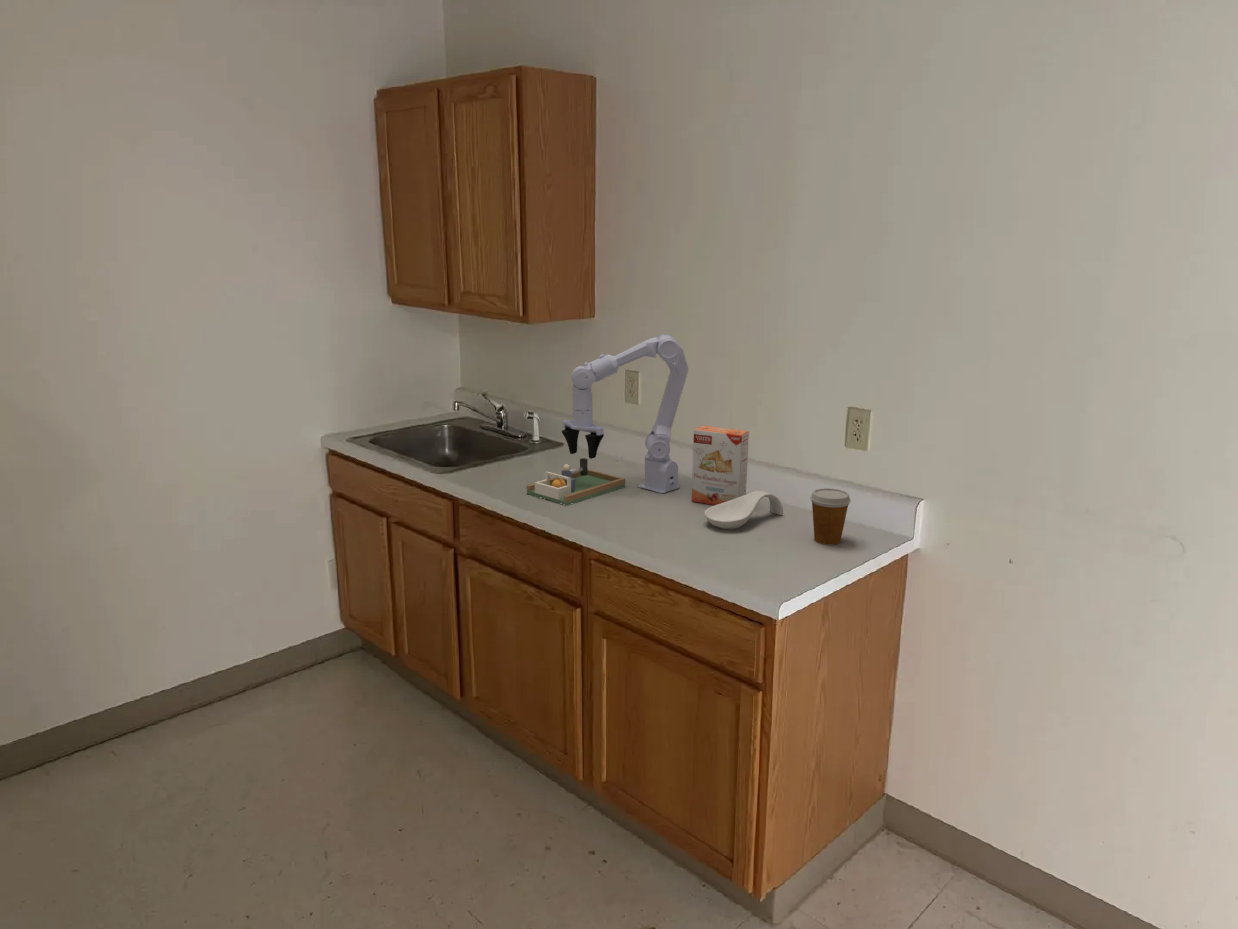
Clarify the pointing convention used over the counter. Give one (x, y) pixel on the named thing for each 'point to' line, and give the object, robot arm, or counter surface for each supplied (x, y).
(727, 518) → the spoon rest
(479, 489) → the counter surface
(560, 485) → the ball
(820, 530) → the disposable coffee cup
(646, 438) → the robot arm
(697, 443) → the cracker box
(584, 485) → the pitch
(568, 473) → the striker
